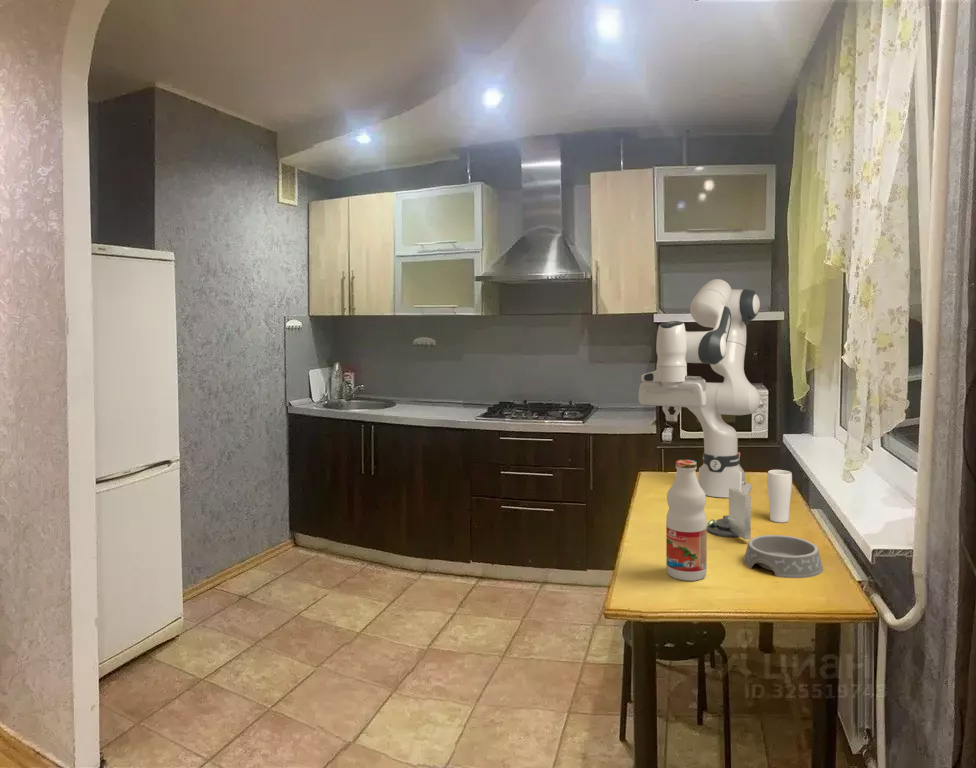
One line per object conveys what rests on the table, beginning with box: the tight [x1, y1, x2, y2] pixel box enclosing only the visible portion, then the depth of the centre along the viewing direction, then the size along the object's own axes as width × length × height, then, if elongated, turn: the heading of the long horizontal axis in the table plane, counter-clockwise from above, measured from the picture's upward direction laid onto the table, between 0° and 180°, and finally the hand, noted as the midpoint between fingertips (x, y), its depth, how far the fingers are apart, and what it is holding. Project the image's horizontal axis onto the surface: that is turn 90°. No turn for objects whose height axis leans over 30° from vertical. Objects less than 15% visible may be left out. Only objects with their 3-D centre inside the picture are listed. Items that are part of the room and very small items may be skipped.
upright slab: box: [715, 488, 752, 541], centre depth 191 cm, size 14×6×12 cm, turn 8°
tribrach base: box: [707, 519, 741, 538], centre depth 196 cm, size 11×11×2 cm
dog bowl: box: [743, 534, 824, 579], centre depth 169 cm, size 17×18×5 cm
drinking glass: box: [767, 469, 793, 524], centre depth 203 cm, size 7×7×15 cm
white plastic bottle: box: [665, 459, 708, 582], centre depth 163 cm, size 9×9×28 cm
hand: (671, 421), depth 204 cm, fingers closed
